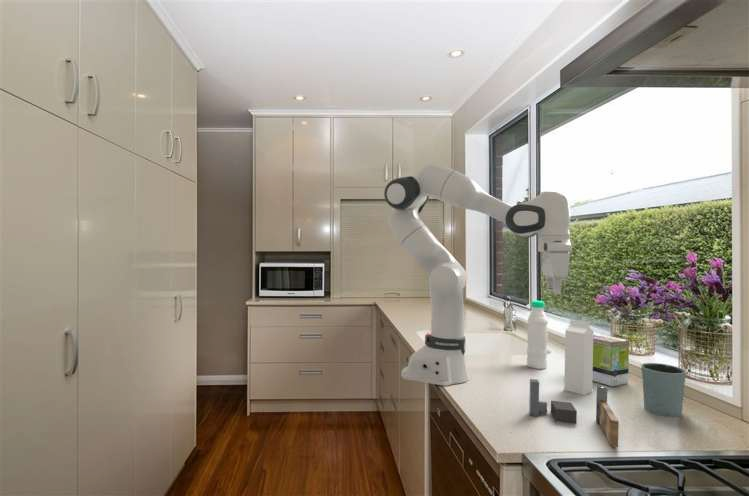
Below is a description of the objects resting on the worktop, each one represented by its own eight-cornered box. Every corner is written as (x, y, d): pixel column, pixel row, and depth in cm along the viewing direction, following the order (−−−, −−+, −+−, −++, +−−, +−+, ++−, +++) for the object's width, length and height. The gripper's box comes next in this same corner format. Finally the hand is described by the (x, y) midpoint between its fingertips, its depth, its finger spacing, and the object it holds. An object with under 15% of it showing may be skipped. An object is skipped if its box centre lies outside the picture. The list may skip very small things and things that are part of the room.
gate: (599, 422, 103) (599, 400, 103) (605, 423, 102) (606, 400, 102) (610, 445, 90) (611, 420, 90) (618, 447, 90) (618, 421, 90)
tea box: (629, 383, 137) (630, 339, 137) (611, 387, 132) (612, 342, 132) (587, 371, 150) (588, 331, 150) (569, 374, 145) (570, 333, 146)
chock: (555, 422, 104) (555, 408, 104) (550, 413, 110) (551, 400, 110) (576, 424, 103) (576, 410, 103) (570, 415, 109) (571, 402, 109)
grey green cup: (684, 409, 114) (684, 366, 114) (686, 421, 106) (687, 375, 106) (640, 401, 120) (641, 360, 120) (640, 412, 111) (641, 368, 112)
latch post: (530, 415, 107) (531, 381, 107) (528, 411, 110) (529, 377, 110) (548, 417, 106) (548, 383, 106) (546, 413, 109) (546, 379, 109)
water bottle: (522, 365, 157) (524, 300, 157) (536, 363, 159) (538, 299, 160) (536, 370, 150) (538, 302, 150) (551, 368, 153) (552, 301, 153)
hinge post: (597, 423, 103) (598, 388, 103) (594, 419, 105) (595, 385, 106) (607, 424, 103) (608, 389, 103) (605, 421, 105) (605, 386, 105)
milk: (583, 395, 124) (584, 323, 124) (563, 389, 129) (565, 320, 129) (592, 391, 128) (594, 321, 128) (573, 386, 133) (574, 318, 133)
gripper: (537, 246, 132) (537, 289, 132) (548, 245, 113) (548, 295, 112) (558, 246, 131) (558, 289, 131) (573, 245, 111) (573, 296, 111)
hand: (553, 292), depth 121 cm, fingers open, 8 cm apart
